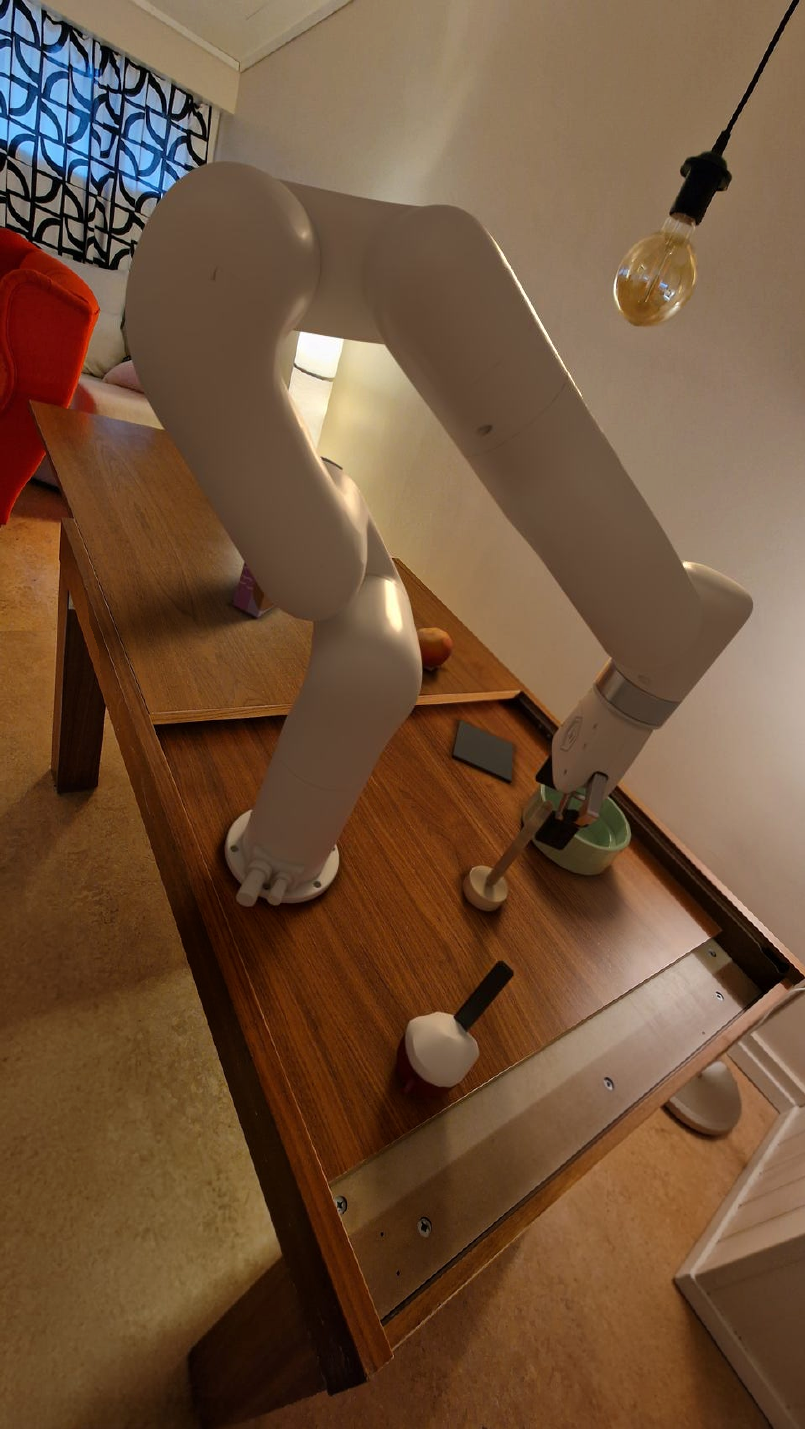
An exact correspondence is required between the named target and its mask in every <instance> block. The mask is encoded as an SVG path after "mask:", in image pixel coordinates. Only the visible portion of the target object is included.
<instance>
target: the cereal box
mask: <svg viewBox="0 0 805 1429" xmlns="http://www.w3.org/2000/svg"><path fill="white" fill-rule="evenodd" d="M320 457H321V459H322V460H323V461H326V462H328V463H330V464H333V465H334V466H336V467H338V468H339V469H341V470H342V471H343V469H344V467H343V466H341V465H339V464H337V463H336V462H334V461H332V460H331V459H329V458H327V457H324V456H321V455H320ZM232 606H234V607H235V608H237V609H239V610H241V611H243V612H244V613H246V614H248V615H250V616H252V617H254V618H255V619H259V618H260V617H262V616H263V615H264V614H266V613H268V612H269V611H271V610H272V609H273V608H275V607H277V606H276V605H275V604H273V603H272V602H271V601H270V600H269V598H268V597H267V596H266V595H265V594H264V592H263V591H262V590H261V588H260V587H259V585H258V584H257V582H256V580H255V579H254V577H253V575H252V574H251V572H250V570H249V568H248V567H247V565H246V563H245V562H244V561H243V566H242V569H241V573H240V576H239V580H238V583H237V588H236V591H235V594H234V598H233V602H232Z"/></svg>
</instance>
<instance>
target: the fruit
mask: <svg viewBox="0 0 805 1429" xmlns="http://www.w3.org/2000/svg"><path fill="white" fill-rule="evenodd" d="M416 632H417V637H418V642H419V647H420V652H421V659H422V669H426V670H428V671H429V672H430V673H431V672H432V671H433V670H434V669H436V668H438V667H440V668H441V669H443V667H442V665H444V663H445V662H446V661H448V660H449V658H450V656H451V655H452V652H453V641H452V638H451V636H450V635H449V633H448V632H446V631H444V630H442V629H440V628H438V627H428V628H427V627H426V628H420V629H418V630H416Z"/></svg>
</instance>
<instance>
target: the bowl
mask: <svg viewBox="0 0 805 1429" xmlns="http://www.w3.org/2000/svg"><path fill="white" fill-rule="evenodd" d="M574 791H577V792H579V793H581V794H583V795H585V794H586V789H584V788H581V787H580V788H578V789H576V790H574ZM563 794H564V792H562V791H561V792H560V791H557V790H554V789H552V788H550V787H548V786H545V785H543V784H541V783H539V785H538V787H537V788H536V789H535V790H534V792H533V793H532V795H531V796H530V797H529V799H528V800H527V801H526V803H525V805H524V807H523V808H522V818H521V819H522V822H523V827H524V826H525V825H526V823H527V822H528V821H529V819H530V818H531V817H532V815H533V814H534V813H535V812H536V810H537V809H538V808H539V806H540V805H541V804H542V802H543V801H545V800H549V801H551V802H552V803H553V804H554V811H557V810H558V807H559V804H560V802H561V799H562V797H563ZM583 803H584V802H582V801H579V800H577V799H575V798H572V799H571V802H570V804H569V807H568V809H575V810H579V808H580V807H581V806H582V805H583ZM631 838H632V833H631V827H630V823H629V822H628V820H627V818H626V816H625V814H624V812H623V811H622V810H621V808H620V807H619V806H618V805H617V803H616V802H615V801H614V800H613V799H612V798H610V797H609V795H608V796H607V798H606V799H605V800H604V801H603V802H602V805H601V810H600V815H599V817H598V819H597V820H595V821H594V822H592V823H590V824H589V826H587V827H586V828H583V829H579V830H578V832H577V833H576V834H575V835H574V837H573V838H572V839H571V840H570V842H569V843H568V844H567V845H566V847H565V848H564V849H563V850H557V849H555V848H553V847H550V846H548V845H546V844H543V843H541V842H539V841H537V840H535V834H534V836H533V837H532V838H531V841H532V842H533V844H534V845H535V846H536V847H537V849H538V850H539V851H540V852H541V853H542V854H544V855H545V856H546V857H547V858H548V859H549V860H551V861H552V862H554V863H555V864H557V865H558V866H560V867H561V868H563V869H565V870H568V871H570V872H571V873H574V874H579V875H583V876H593V875H594V876H595V875H599V874H602V873H603V872H604V871H606V870H607V869H608V868H609V867H610V866H611V865H612V864H613V862H614V861H615V860H616V859H617V858H618V857H619V856H620V855H621V854H622V853H623V852H624V850H625V849H626V848H627V847H628V846H629V844H630V841H631Z"/></svg>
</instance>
